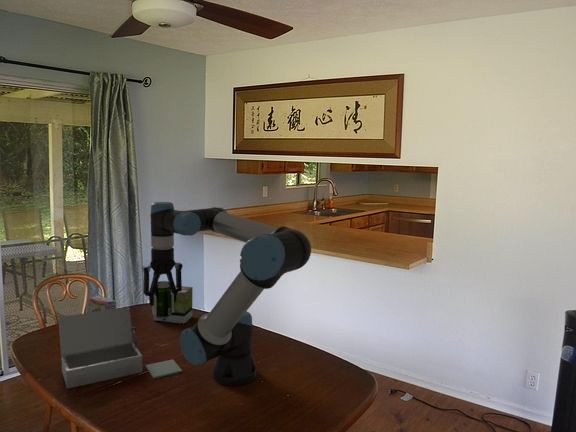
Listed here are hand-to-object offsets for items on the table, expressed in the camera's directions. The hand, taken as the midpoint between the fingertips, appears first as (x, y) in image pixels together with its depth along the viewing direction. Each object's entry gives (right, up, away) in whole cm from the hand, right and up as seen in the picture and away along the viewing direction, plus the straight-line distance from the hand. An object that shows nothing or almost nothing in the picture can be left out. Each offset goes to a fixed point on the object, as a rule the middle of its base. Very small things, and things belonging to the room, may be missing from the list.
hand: (163, 312), depth 162 cm
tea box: (-9, -14, +52) cm, 55 cm away
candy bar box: (-32, -16, +29) cm, 46 cm away
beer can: (0, -2, 0) cm, 2 cm away
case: (-22, -20, +2) cm, 30 cm away
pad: (-1, -21, +3) cm, 21 cm away
